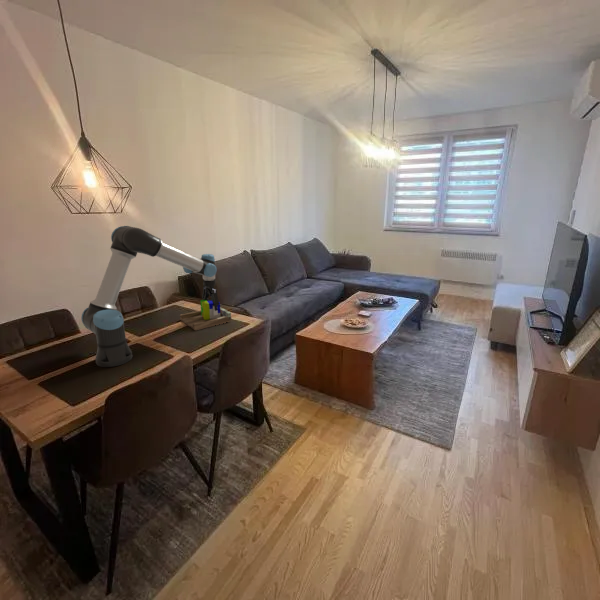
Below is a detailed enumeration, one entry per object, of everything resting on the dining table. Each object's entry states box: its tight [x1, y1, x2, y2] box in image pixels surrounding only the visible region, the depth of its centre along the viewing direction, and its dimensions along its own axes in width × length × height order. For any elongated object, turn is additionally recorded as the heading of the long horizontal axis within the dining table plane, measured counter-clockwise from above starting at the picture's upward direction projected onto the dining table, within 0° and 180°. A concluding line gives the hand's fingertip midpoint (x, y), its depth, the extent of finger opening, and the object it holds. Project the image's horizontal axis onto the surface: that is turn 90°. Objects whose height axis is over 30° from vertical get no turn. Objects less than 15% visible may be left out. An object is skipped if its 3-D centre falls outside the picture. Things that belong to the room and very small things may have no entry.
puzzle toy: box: [200, 298, 221, 320], centre depth 207 cm, size 10×10×10 cm
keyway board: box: [179, 306, 232, 331], centre depth 206 cm, size 22×24×6 cm
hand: (211, 312), depth 208 cm, fingers open, 11 cm apart
